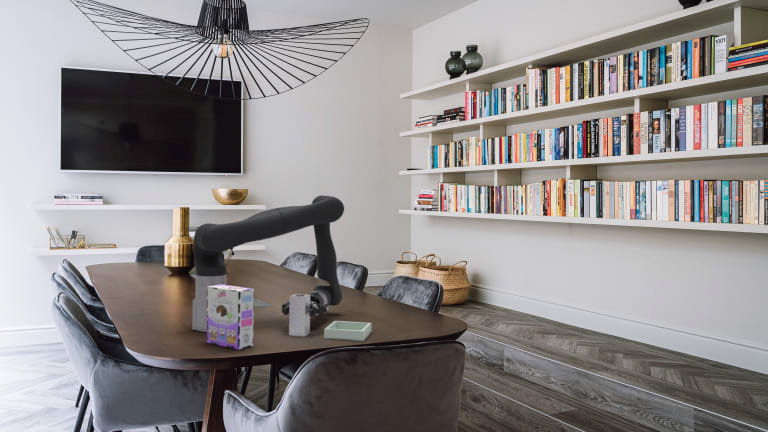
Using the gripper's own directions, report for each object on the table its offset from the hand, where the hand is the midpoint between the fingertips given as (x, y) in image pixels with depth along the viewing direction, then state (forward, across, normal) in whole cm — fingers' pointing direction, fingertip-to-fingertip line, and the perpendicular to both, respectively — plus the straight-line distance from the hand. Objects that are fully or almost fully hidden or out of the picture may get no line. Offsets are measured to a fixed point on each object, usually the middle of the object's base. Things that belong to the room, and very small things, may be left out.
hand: (297, 312), depth 174 cm
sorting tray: (-4, +15, +7) cm, 17 cm away
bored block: (-2, 0, +7) cm, 7 cm away
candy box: (+15, -15, +7) cm, 22 cm away
